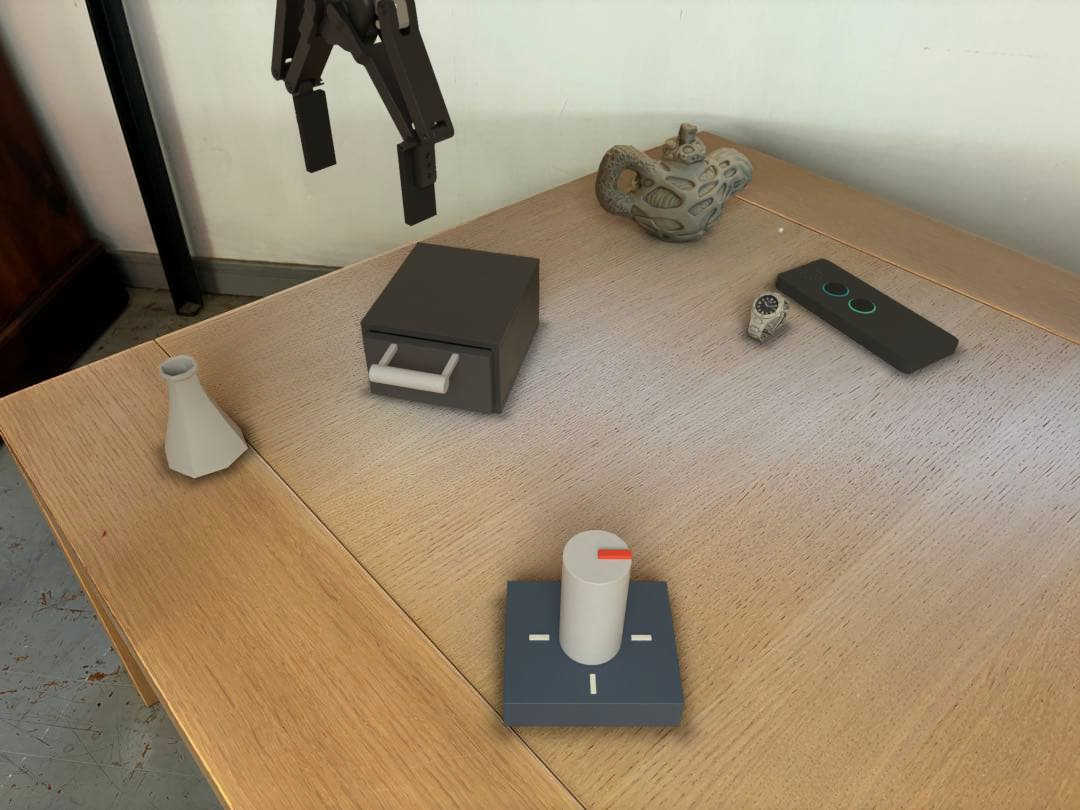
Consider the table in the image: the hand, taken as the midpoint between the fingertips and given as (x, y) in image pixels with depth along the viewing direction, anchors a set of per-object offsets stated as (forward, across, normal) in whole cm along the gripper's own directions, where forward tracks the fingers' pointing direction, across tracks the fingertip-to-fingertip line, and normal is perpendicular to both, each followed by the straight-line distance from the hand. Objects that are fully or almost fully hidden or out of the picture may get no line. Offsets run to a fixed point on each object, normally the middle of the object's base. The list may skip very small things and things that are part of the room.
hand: (368, 192), depth 70 cm
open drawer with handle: (+20, -3, -4) cm, 21 cm away
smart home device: (+22, -28, -45) cm, 57 cm away
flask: (+22, +5, +18) cm, 29 cm away
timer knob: (+18, -35, +10) cm, 41 cm away
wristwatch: (+22, -22, -35) cm, 47 cm away
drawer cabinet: (+21, -1, -8) cm, 23 cm away
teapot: (+22, -1, -45) cm, 50 cm away
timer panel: (+21, -35, +10) cm, 42 cm away
